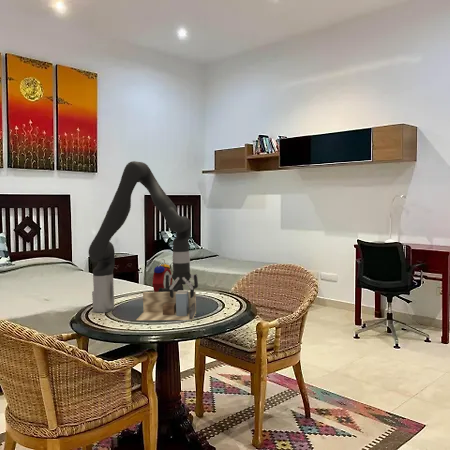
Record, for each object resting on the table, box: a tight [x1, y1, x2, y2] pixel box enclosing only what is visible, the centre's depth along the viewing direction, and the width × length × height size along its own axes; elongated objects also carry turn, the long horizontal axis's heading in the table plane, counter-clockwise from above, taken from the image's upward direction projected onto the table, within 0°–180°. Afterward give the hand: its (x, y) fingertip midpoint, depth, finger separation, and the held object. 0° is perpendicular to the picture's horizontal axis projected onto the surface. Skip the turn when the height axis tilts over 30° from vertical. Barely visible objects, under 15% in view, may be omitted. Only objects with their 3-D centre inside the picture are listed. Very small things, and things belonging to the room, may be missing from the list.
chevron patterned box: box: [135, 291, 197, 323], centre depth 197 cm, size 24×15×10 cm, turn 87°
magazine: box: [158, 283, 184, 292], centre depth 223 cm, size 17×3×30 cm
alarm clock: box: [150, 258, 173, 292], centre depth 247 cm, size 15×9×20 cm, turn 167°
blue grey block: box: [176, 289, 189, 316], centre depth 198 cm, size 5×7×10 cm, turn 177°
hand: (182, 297), depth 198 cm, fingers open, 8 cm apart
